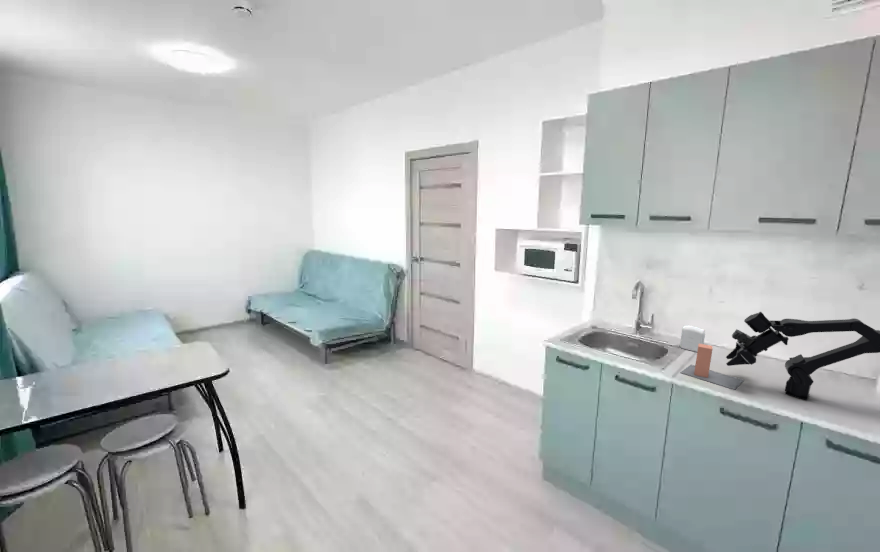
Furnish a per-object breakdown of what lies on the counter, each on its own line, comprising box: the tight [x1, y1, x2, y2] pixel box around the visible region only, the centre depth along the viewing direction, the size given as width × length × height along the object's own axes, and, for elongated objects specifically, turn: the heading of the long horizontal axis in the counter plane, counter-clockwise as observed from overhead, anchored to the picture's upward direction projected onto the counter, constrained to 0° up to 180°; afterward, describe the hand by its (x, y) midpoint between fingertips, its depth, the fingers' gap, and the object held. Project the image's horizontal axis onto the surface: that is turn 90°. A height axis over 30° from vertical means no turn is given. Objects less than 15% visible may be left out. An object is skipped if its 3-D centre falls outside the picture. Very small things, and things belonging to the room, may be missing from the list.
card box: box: [694, 343, 713, 378], centre depth 171 cm, size 5×4×13 cm
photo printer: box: [679, 325, 706, 353], centre depth 201 cm, size 10×4×12 cm, turn 39°
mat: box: [680, 364, 745, 391], centre depth 171 cm, size 20×13×1 cm, turn 40°
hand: (726, 361), depth 167 cm, fingers open, 9 cm apart
